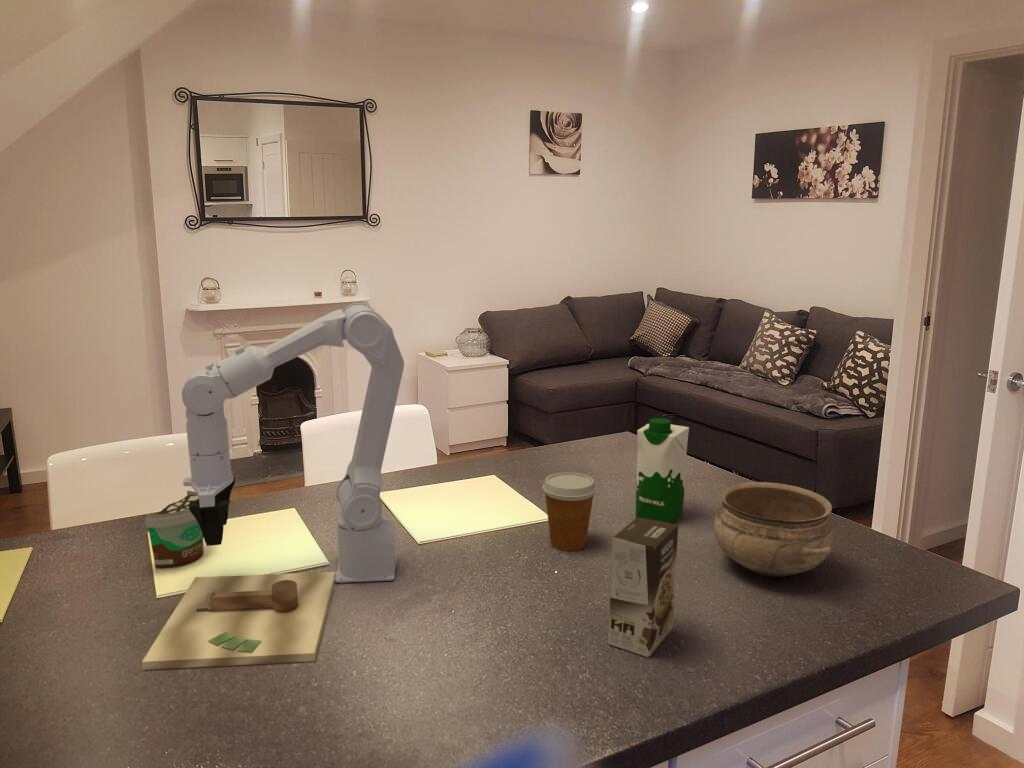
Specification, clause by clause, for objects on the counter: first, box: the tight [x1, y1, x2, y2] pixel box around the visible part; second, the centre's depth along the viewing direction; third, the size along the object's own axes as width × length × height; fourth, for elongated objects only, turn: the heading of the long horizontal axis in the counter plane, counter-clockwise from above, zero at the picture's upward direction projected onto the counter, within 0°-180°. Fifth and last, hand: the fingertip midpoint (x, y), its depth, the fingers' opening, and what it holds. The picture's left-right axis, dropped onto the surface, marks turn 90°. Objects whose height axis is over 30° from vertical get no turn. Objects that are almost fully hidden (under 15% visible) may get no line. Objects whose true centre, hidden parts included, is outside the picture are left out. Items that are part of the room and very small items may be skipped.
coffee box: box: [607, 517, 680, 658], centre depth 110 cm, size 9×6×16 cm
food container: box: [144, 490, 204, 570], centre depth 134 cm, size 12×6×10 cm, turn 168°
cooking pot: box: [713, 481, 835, 578], centre depth 131 cm, size 25×19×12 cm
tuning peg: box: [207, 580, 298, 612], centre depth 116 cm, size 13×4×3 cm, turn 96°
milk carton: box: [635, 417, 690, 524], centre depth 152 cm, size 9×9×20 cm
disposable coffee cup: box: [541, 472, 597, 552], centre depth 141 cm, size 10×10×12 cm
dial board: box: [141, 571, 337, 671], centre depth 115 cm, size 22×24×1 cm
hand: (216, 534), depth 122 cm, fingers open, 7 cm apart
